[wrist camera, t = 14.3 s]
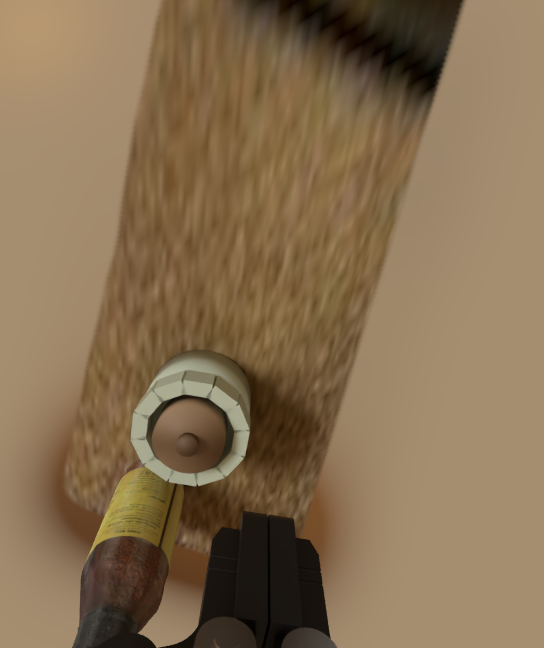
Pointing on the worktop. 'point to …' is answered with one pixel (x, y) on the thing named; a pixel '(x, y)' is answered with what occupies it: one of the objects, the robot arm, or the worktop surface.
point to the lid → (190, 434)
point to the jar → (203, 381)
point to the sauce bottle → (129, 557)
